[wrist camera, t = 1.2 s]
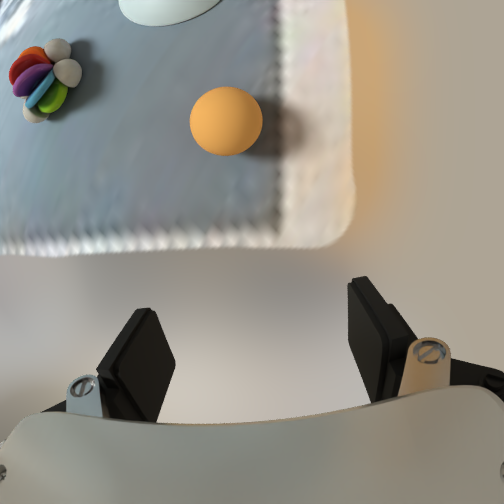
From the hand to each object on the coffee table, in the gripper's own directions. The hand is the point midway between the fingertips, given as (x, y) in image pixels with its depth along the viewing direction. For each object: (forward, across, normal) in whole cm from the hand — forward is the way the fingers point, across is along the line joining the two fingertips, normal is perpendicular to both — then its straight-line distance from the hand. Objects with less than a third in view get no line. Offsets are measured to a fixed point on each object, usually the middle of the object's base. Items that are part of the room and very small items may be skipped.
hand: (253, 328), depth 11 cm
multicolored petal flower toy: (+18, +20, -21) cm, 35 cm away
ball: (+15, +1, -10) cm, 18 cm away
